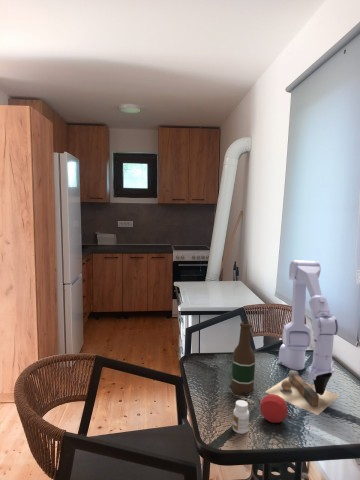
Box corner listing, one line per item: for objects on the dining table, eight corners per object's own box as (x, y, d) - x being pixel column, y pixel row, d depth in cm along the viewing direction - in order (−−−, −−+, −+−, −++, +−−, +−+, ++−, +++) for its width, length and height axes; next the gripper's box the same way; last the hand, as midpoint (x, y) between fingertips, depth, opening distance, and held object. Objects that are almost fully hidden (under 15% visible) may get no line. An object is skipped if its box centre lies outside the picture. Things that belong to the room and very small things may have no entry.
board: (264, 396, 119) (265, 381, 118) (289, 380, 131) (290, 366, 130) (317, 420, 106) (318, 404, 106) (339, 399, 118) (340, 385, 118)
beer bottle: (255, 388, 123) (259, 321, 121) (250, 399, 116) (254, 328, 114) (234, 383, 126) (237, 317, 124) (227, 393, 119) (231, 324, 117)
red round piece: (274, 400, 100) (278, 383, 107) (252, 409, 104) (257, 392, 110) (291, 423, 100) (294, 405, 106) (269, 431, 103) (273, 413, 110)
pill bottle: (230, 424, 102) (232, 399, 101) (245, 424, 103) (247, 398, 102) (234, 434, 98) (236, 407, 97) (250, 434, 98) (251, 407, 97)
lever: (287, 379, 128) (287, 370, 127) (295, 378, 128) (296, 370, 128) (310, 406, 110) (311, 396, 110) (320, 406, 111) (320, 395, 110)
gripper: (325, 363, 107) (322, 406, 108) (344, 351, 117) (340, 390, 118) (303, 356, 112) (300, 397, 113) (322, 344, 122) (319, 382, 123)
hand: (319, 393), depth 116 cm, fingers closed
